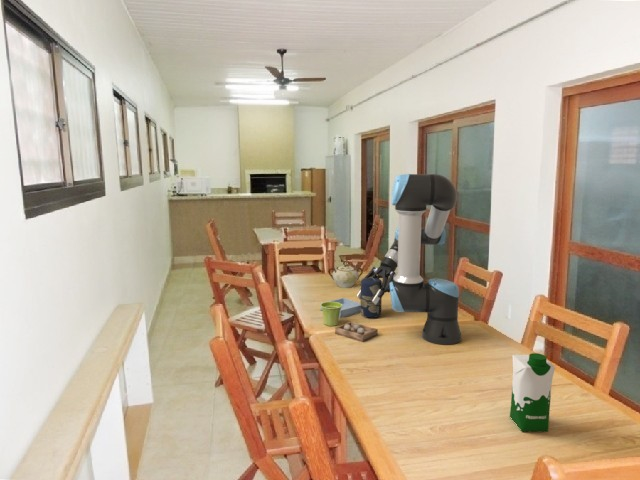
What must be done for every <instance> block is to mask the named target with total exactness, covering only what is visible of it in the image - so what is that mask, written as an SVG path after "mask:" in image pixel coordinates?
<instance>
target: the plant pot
mask: <svg viewBox="0 0 640 480" xmlns="http://www.w3.org/2000/svg"><path fill="white" fill-rule="evenodd" d="M323 302H324V303H323ZM323 302H321V303H322V304H321V307H322V311H321V312H322V317H323V318H322V319H323V324H324V325H325V326H327V327H334V326H337V325H338V326H339V320H340V318H339V314H340V310H341V307H342V304H341V303H338V302H327V301H323Z"/></svg>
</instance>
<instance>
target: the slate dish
mask: <svg viewBox="0 0 640 480" xmlns="http://www.w3.org/2000/svg"><path fill="white" fill-rule="evenodd" d="M324 302H325V301H323V302H320V311H321V312H323V311H322V307H321V304H322V303H324ZM326 302H338V303H341V304H342V307H341V310H340V314H339V319H343V318H346V317H350V316H353V315H357V314H361V304H360V303H361V302H358V301H355V300H352V299H349V298H346V297H342V298H337V299H333V300H328V301H326ZM342 317H343V318H342Z"/></svg>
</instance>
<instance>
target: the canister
mask: <svg viewBox="0 0 640 480" xmlns="http://www.w3.org/2000/svg"><path fill="white" fill-rule="evenodd" d="M364 278H365V277H364ZM364 278H362V279H361V280H360V289H361V300H360V302H359V303H360V304H361V313H360V314H361V316H362V317H365V318H372V319H373V318H378V317H380V316H381V315H382V305H383V304H382V298H383V297H382V298H380V300H379V301H378V303H377V304H374V303H373V301H372V300H373V299H374V297H375V295H376V294H377V292H378V291H379V289H381V288H382V281H383V280H381V278H379V279H377V278H372V277H369V278H365V279H364ZM381 290H382V289H381Z"/></svg>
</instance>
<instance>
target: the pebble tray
mask: <svg viewBox="0 0 640 480" xmlns="http://www.w3.org/2000/svg"><path fill="white" fill-rule="evenodd" d="M378 333H379V332H378V329H377V328H375V327H371V326H367V325H363V324H360V323H356V322H353V321H348V322H346V323H343V324H341V325H338V326H336V327H335V331H334V334H336V335H339V336H340V337H341V336H343V337H345V338H349V339H352V340H355V341H357V342H362V343H364V342H366V341H368V340H370V339H372V338H375V337H377V336H378Z"/></svg>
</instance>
